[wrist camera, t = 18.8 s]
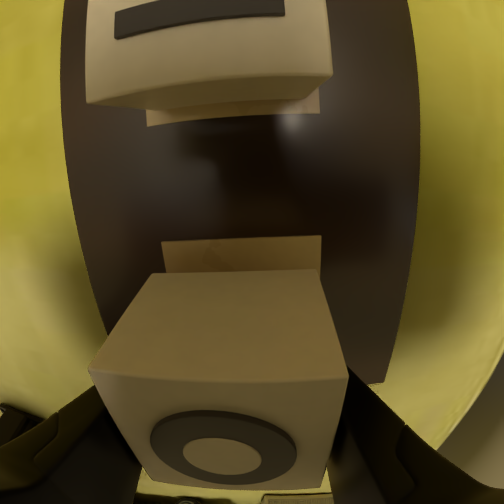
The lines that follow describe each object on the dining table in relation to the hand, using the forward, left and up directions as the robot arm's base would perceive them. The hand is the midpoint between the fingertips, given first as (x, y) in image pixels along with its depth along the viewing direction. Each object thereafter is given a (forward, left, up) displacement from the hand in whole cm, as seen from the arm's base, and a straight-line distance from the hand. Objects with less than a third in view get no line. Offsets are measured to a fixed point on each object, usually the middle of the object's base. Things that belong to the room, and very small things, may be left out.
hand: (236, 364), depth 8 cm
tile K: (+9, 0, -3) cm, 10 cm away
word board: (+5, 0, -4) cm, 6 cm away
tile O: (0, 0, -1) cm, 1 cm away
